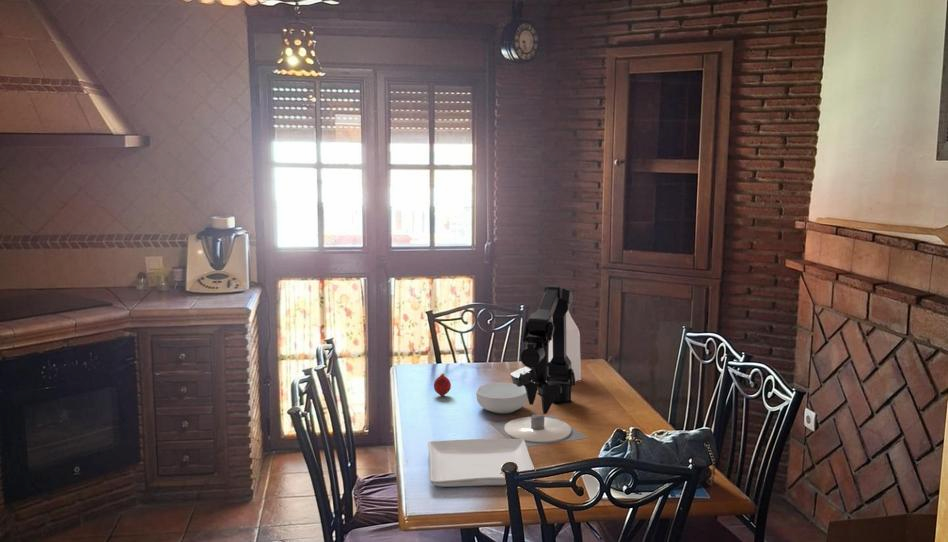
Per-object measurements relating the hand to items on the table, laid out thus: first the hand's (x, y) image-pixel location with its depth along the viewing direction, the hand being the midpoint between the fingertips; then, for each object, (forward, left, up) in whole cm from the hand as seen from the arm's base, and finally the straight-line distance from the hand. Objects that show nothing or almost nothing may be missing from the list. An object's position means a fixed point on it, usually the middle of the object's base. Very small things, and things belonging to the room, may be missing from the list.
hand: (538, 409), depth 246 cm
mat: (0, 0, -7) cm, 7 cm away
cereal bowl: (+2, -22, -7) cm, 23 cm away
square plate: (+27, +20, -8) cm, 35 cm away
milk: (-32, -47, -7) cm, 57 cm away
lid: (0, 0, -7) cm, 7 cm away
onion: (+15, -43, -7) cm, 46 cm away
